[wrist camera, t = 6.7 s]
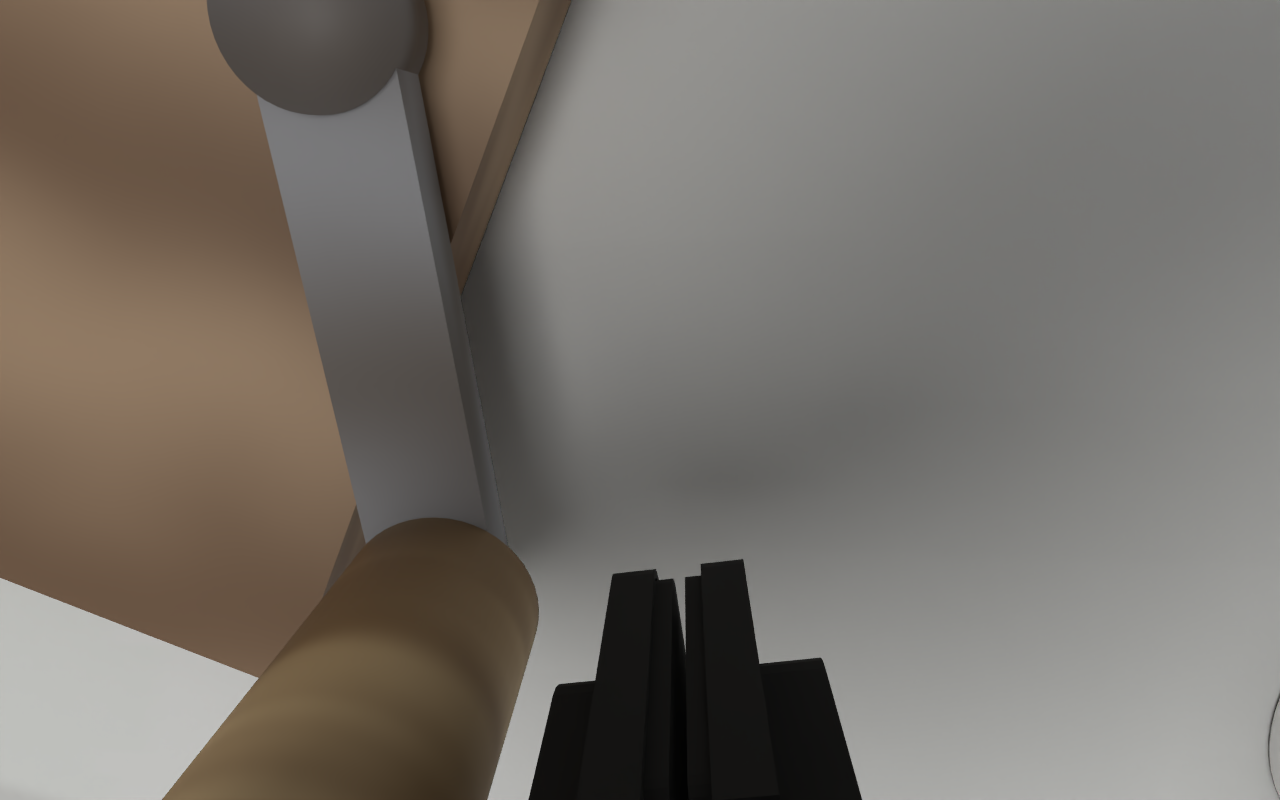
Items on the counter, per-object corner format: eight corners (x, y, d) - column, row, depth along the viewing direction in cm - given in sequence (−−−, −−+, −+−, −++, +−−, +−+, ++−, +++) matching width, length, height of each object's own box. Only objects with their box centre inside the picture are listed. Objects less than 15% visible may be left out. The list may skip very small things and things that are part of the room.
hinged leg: (210, -58, 12) (-597, -425, 4) (429, -94, 12) (-26, -546, 4) (388, 664, 15) (105, 1163, 8) (561, 648, 15) (444, 1149, 7)
